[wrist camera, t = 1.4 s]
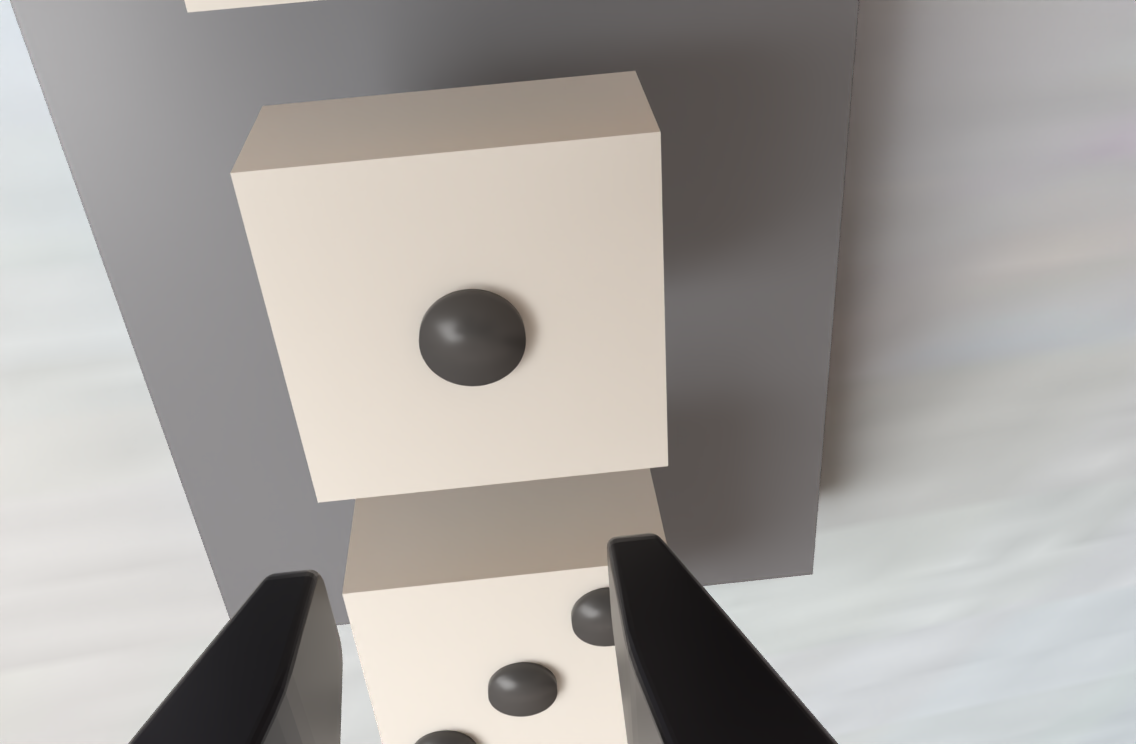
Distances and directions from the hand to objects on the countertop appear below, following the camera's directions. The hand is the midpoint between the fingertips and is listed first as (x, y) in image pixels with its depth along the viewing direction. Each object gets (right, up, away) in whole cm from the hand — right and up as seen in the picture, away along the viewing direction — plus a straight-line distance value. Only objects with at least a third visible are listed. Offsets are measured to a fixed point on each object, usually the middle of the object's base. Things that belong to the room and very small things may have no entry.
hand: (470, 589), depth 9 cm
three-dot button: (0, -2, +8) cm, 8 cm away
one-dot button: (0, +3, +5) cm, 6 cm away
